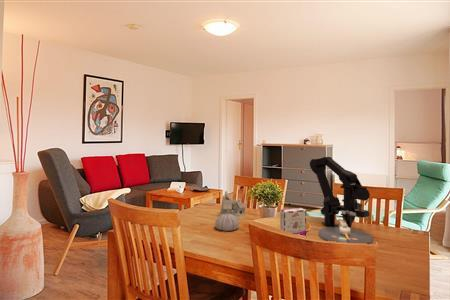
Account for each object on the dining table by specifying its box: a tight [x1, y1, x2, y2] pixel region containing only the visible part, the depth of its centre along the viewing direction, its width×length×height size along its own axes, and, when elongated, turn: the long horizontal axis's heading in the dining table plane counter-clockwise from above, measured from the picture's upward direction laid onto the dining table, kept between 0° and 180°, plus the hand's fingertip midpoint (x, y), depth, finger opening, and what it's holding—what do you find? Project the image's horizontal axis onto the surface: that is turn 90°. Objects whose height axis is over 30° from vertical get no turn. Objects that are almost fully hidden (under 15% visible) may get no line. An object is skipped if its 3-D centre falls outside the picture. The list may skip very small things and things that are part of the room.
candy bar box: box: [279, 207, 307, 237], centre depth 143 cm, size 11×5×16 cm, turn 105°
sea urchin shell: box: [214, 213, 240, 232], centre depth 168 cm, size 13×14×8 cm
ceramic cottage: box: [218, 190, 246, 219], centre depth 194 cm, size 16×16×15 cm
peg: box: [338, 218, 351, 240], centre depth 155 cm, size 22×5×4 cm, turn 167°
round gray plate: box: [318, 226, 373, 245], centre depth 154 cm, size 25×25×2 cm
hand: (349, 227), depth 161 cm, fingers closed
